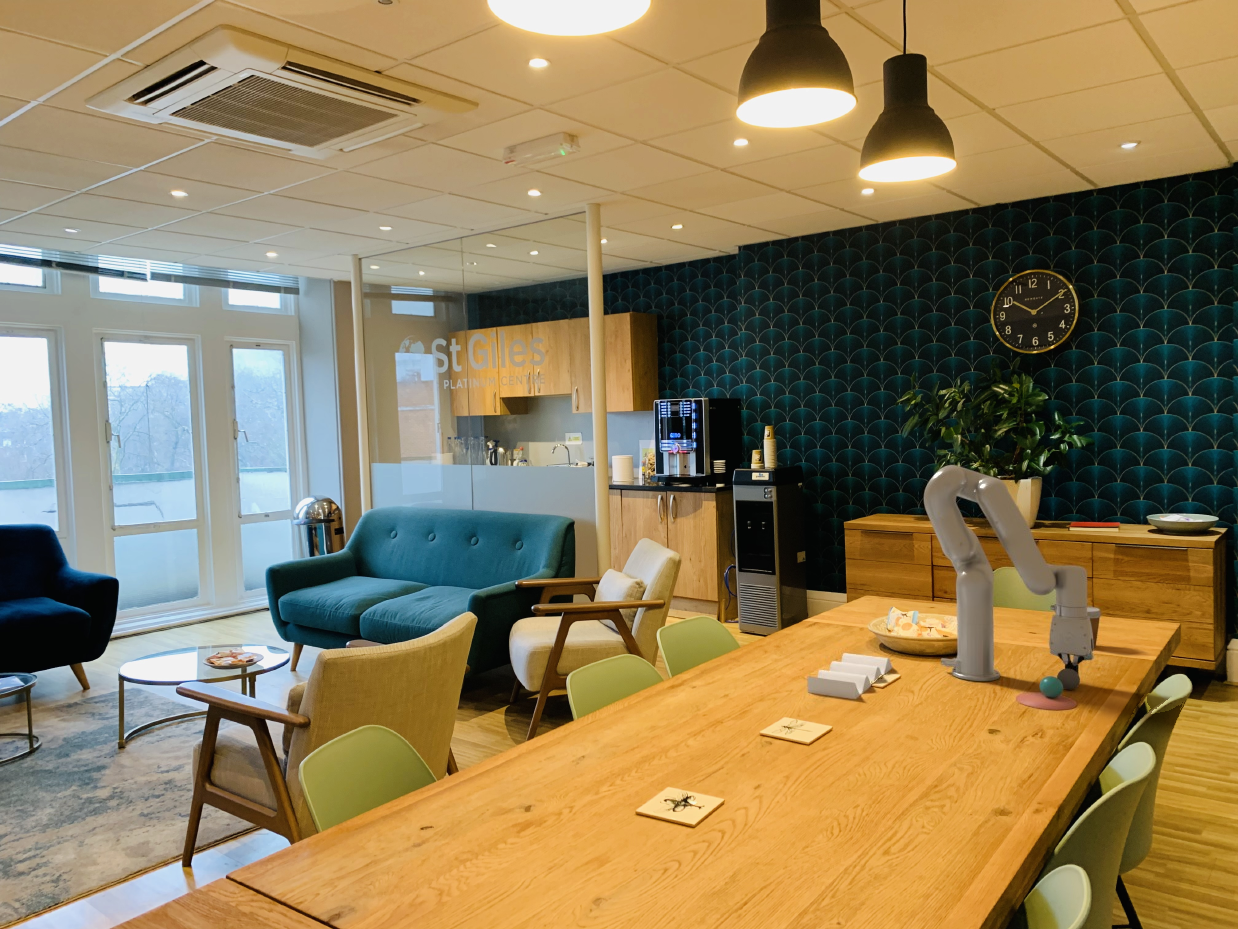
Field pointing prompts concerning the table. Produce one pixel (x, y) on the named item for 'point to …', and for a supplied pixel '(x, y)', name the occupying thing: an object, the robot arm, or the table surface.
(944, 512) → the robot arm
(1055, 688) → the object ball
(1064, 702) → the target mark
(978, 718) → the table surface
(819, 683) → the white taco holder
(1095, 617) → the disposable coffee cup
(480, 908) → the table surface
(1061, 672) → the gray ball
